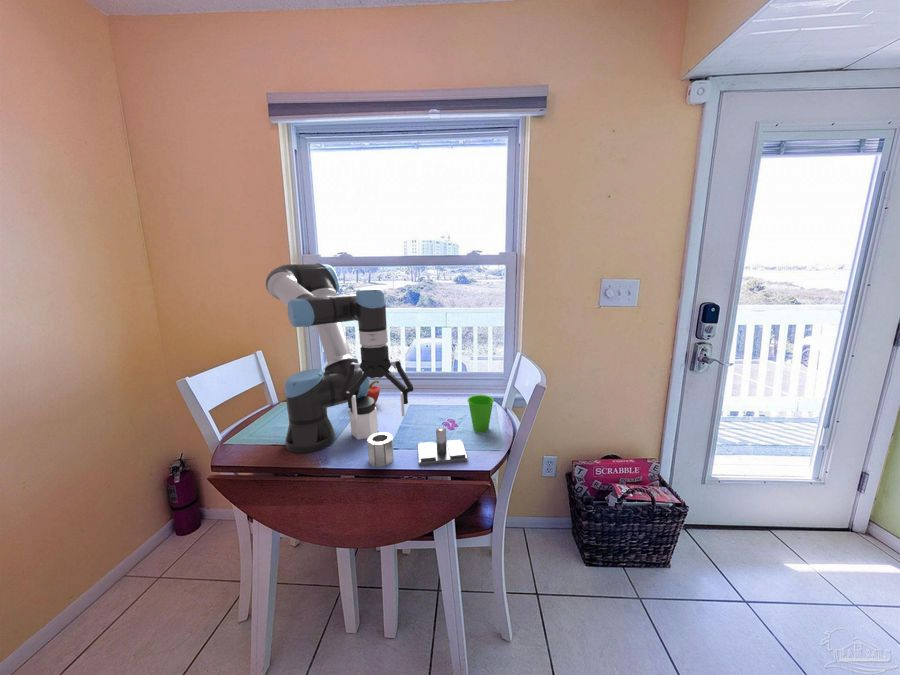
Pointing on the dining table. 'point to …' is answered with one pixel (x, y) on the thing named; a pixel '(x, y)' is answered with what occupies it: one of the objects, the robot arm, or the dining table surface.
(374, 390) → the vegetable
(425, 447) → the shaft block
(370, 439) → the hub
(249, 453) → the dining table surface
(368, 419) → the jar
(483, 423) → the cup
